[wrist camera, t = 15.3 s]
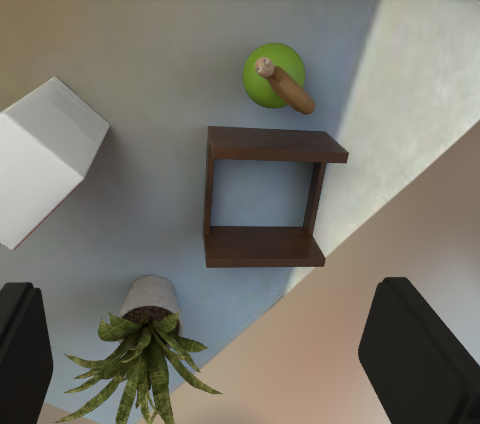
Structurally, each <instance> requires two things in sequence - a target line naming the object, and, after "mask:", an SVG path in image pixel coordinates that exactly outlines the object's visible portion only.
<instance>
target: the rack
mask: <svg viewBox="0 0 480 424" xmlns="http://www.w3.org/2000/svg"><path fill="white" fill-rule="evenodd" d="M348 155H349V153H348V152H347V151H346V150H345V149H344V148H343V147H342V146H341V145H339V144H338V143H337V142H336V141H335V140H334V139H333V138H332V137H331V136H329V135H328V134H327V133H326V132H322V131H301V130H280V129H259V128H238V127H216V126H208V140H207V159H206V178H205V198H204V217H203V241H204V250H205V259H206V267H207V268H225V267H319V266H320V267H324V264H325V259H326V258H325V257H324V255H323V253H322V251H321V250H320V248H319V246H318V244H317V243H316V241H315V239H314V237H313V236H312V235H313V230H314V225H315V220H316V215H317V210H318V205H319V200H320V195H321V189H322V184H323V179H324V174H325V169H326V164H327V163H347V159H348ZM214 159H237V160H266V161H295V162H314V167H313V173H312V179H311V184H310V190H309V195H308V201H307V206H306V212H305V217H304V223H303V227H246V226H210V222H211V205H212V189H213V173H214Z"/></svg>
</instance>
